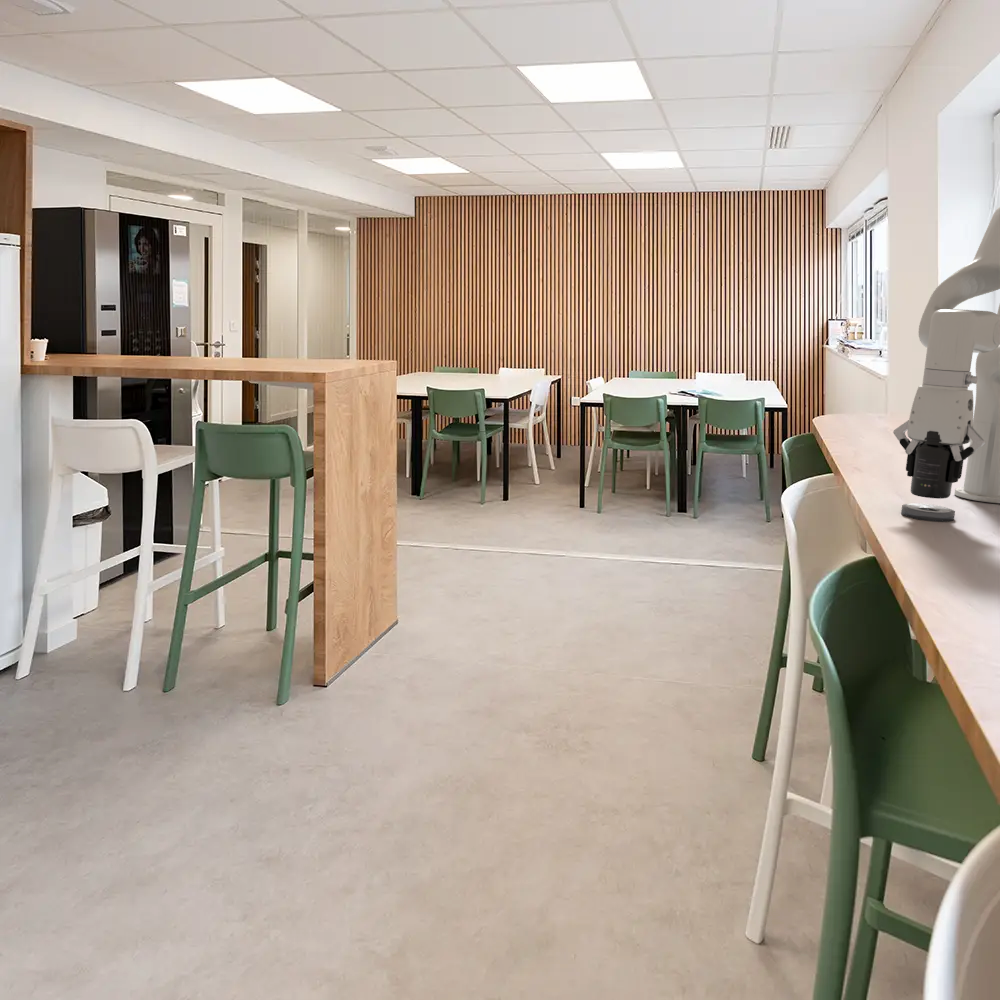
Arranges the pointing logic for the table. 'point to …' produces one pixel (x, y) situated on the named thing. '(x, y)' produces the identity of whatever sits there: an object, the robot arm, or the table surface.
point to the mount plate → (928, 512)
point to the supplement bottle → (932, 468)
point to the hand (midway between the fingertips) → (932, 478)
